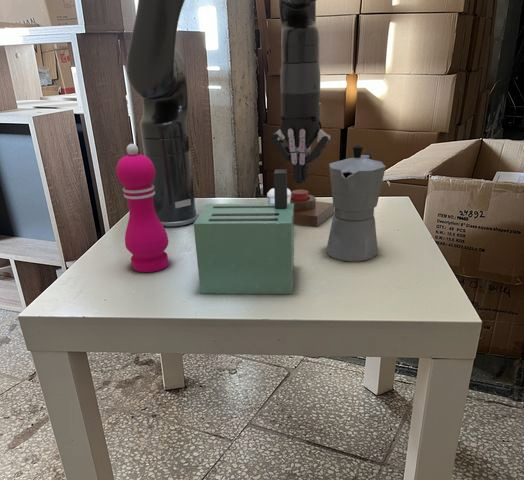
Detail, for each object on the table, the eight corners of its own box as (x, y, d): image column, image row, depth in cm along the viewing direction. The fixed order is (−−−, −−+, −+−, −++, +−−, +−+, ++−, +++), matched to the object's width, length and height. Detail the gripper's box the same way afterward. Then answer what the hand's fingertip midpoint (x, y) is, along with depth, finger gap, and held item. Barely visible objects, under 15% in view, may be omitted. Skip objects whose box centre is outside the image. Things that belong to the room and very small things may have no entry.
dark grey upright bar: (274, 208, 79) (273, 173, 76) (275, 203, 81) (275, 169, 78) (286, 208, 78) (286, 172, 76) (287, 203, 81) (287, 169, 78)
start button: (288, 201, 109) (288, 193, 108) (295, 197, 112) (295, 188, 111) (304, 203, 107) (304, 194, 106) (311, 198, 110) (311, 190, 109)
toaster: (200, 293, 80) (193, 223, 74) (211, 268, 88) (205, 203, 82) (291, 294, 78) (291, 222, 73) (294, 268, 87) (293, 202, 81)
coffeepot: (369, 269, 85) (378, 154, 76) (314, 262, 89) (316, 152, 79) (388, 239, 97) (398, 137, 88) (339, 234, 101) (344, 135, 91)
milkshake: (292, 230, 104) (292, 179, 99) (290, 239, 99) (290, 186, 94) (269, 230, 104) (268, 179, 99) (267, 239, 100) (265, 186, 95)
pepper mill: (136, 277, 86) (113, 150, 76) (124, 263, 92) (102, 143, 81) (177, 268, 89) (161, 144, 78) (164, 255, 94) (147, 138, 84)
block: (264, 220, 110) (263, 201, 108) (284, 207, 117) (284, 189, 115) (317, 227, 105) (317, 207, 103) (334, 213, 113) (335, 194, 111)
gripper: (340, 87, 99) (337, 180, 108) (277, 87, 104) (279, 176, 113) (325, 91, 93) (323, 189, 102) (260, 91, 98) (264, 184, 107)
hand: (300, 182), depth 107 cm, fingers closed
